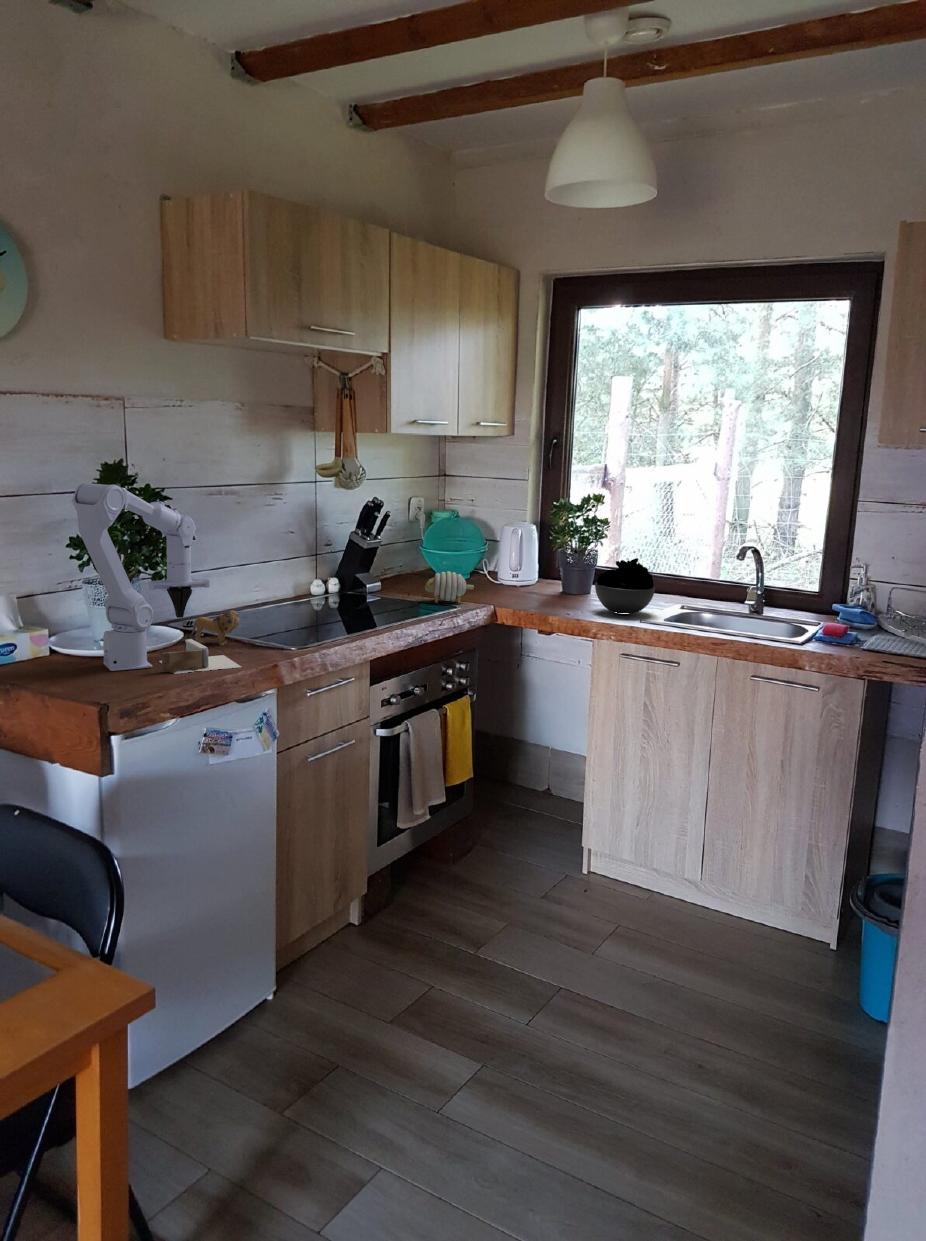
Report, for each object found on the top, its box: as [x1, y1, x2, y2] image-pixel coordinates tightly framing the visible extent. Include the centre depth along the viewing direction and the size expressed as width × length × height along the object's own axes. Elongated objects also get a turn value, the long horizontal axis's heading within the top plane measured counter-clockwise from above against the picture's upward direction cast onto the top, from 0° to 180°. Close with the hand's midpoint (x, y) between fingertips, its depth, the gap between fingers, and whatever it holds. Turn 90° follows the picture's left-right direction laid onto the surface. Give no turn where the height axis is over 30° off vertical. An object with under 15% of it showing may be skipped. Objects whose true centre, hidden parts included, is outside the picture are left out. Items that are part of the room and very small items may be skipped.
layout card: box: [159, 654, 243, 675], centre depth 228 cm, size 16×13×1 cm
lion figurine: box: [185, 610, 240, 646], centre depth 250 cm, size 15×5×9 cm, turn 84°
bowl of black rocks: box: [594, 557, 656, 614], centre depth 318 cm, size 20×20×19 cm
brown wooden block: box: [161, 650, 202, 674], centre depth 221 cm, size 9×4×4 cm, turn 123°
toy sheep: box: [424, 570, 475, 603], centre depth 325 cm, size 11×17×11 cm, turn 98°
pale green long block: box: [185, 638, 209, 667], centre depth 228 cm, size 12×2×4 cm, turn 37°
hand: (179, 616), depth 236 cm, fingers closed
